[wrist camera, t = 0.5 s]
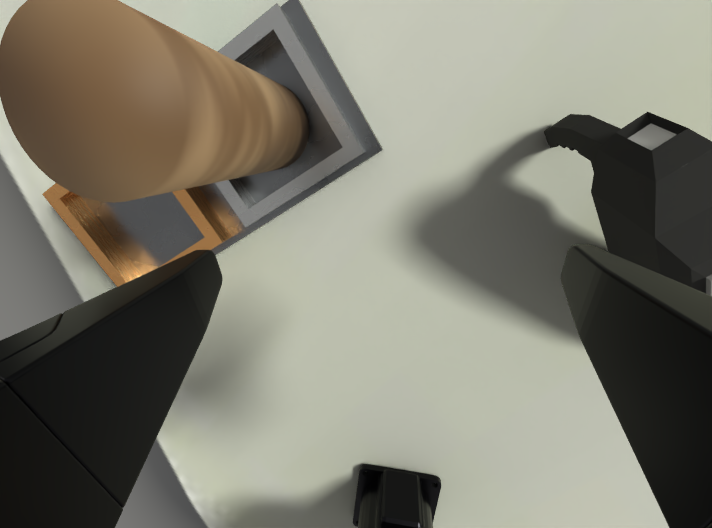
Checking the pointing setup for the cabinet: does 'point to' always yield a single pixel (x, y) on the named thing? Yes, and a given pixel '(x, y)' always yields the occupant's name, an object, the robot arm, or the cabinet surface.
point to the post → (137, 103)
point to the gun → (649, 192)
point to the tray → (240, 195)
